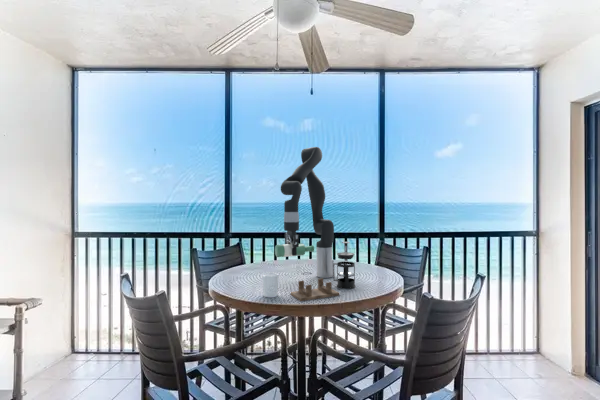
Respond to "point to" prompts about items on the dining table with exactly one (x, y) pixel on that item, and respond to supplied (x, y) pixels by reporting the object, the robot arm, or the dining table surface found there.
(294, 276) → the dining table surface
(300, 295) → the bottle rest
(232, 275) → the dining table surface
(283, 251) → the green bottle
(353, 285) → the french press
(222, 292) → the dining table surface
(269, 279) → the white cup
